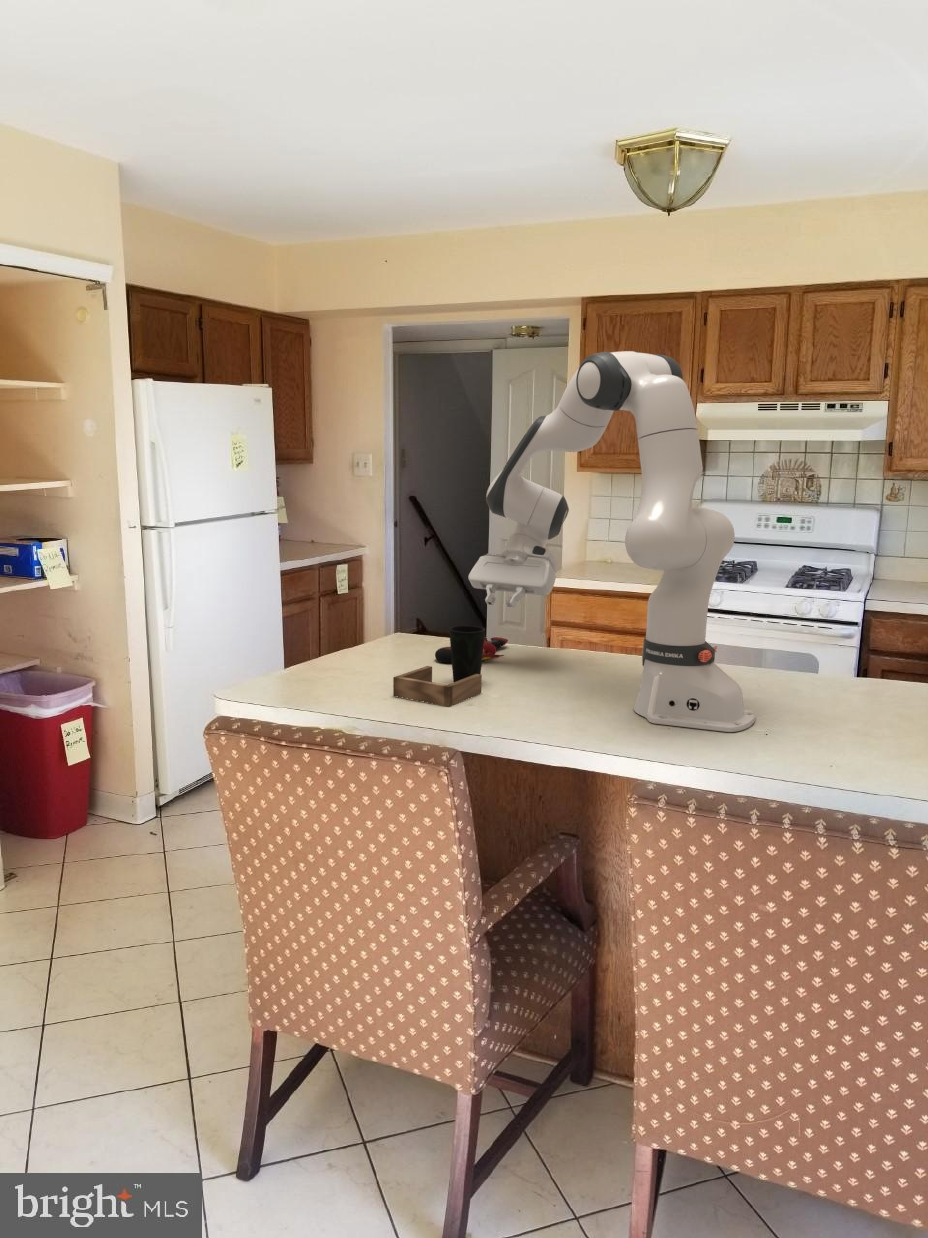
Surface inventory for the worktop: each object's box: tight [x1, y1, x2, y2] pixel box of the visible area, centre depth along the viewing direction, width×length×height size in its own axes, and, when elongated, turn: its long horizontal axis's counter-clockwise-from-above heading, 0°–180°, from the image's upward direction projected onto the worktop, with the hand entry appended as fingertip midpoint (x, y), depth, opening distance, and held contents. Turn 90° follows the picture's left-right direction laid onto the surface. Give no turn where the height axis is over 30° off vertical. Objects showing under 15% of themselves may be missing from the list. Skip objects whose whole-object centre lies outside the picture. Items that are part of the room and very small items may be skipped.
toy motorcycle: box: [434, 636, 509, 664], centre depth 228 cm, size 25×5×16 cm
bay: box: [392, 665, 483, 708], centre depth 191 cm, size 13×12×4 cm
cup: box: [448, 625, 486, 683], centre depth 199 cm, size 8×8×12 cm
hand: (499, 604), depth 208 cm, fingers open, 4 cm apart
